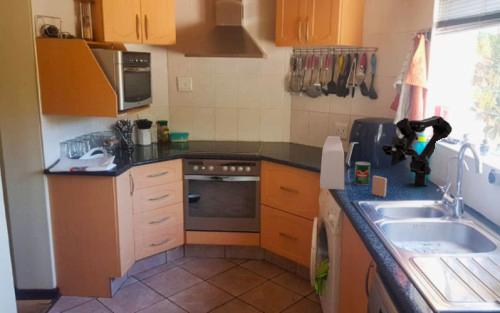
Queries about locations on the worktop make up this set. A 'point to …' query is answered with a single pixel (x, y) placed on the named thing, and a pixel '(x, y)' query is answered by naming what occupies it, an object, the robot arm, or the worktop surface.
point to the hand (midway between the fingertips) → (391, 165)
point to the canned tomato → (362, 173)
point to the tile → (379, 186)
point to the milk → (332, 164)
